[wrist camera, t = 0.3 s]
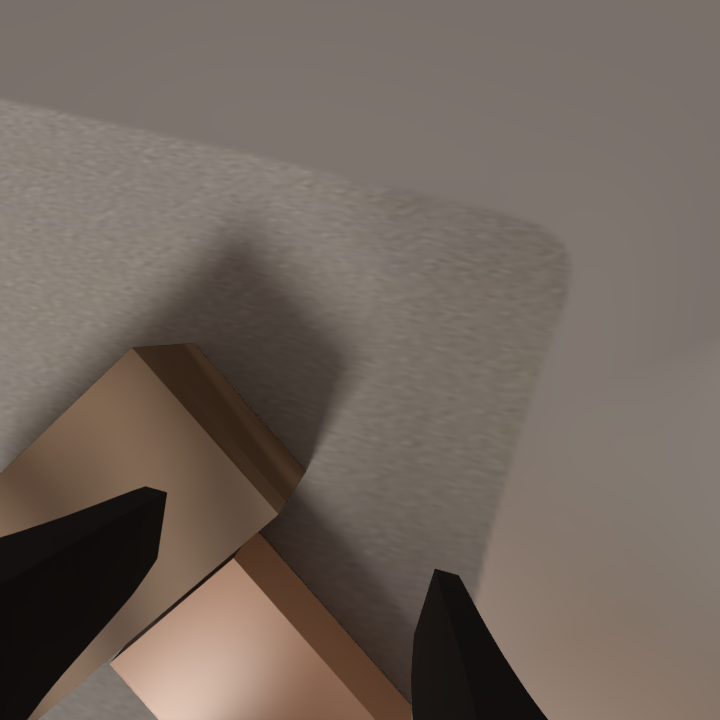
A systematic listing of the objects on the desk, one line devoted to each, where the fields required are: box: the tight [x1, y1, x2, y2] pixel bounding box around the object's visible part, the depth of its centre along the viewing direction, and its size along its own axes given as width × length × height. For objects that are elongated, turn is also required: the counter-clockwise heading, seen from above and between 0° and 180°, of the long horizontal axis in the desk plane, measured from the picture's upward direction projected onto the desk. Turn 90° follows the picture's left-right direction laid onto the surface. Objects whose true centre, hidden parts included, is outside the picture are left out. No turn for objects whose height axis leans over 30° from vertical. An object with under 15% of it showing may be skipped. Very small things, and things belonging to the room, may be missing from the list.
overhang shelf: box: [0, 343, 306, 720], centre depth 21 cm, size 16×8×5 cm, turn 132°
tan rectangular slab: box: [110, 532, 412, 720], centre depth 22 cm, size 8×12×3 cm, turn 42°
